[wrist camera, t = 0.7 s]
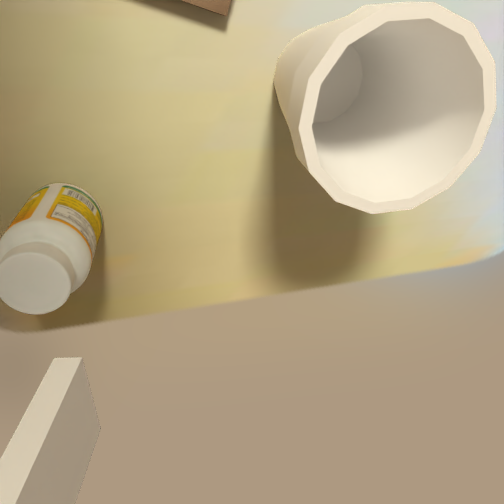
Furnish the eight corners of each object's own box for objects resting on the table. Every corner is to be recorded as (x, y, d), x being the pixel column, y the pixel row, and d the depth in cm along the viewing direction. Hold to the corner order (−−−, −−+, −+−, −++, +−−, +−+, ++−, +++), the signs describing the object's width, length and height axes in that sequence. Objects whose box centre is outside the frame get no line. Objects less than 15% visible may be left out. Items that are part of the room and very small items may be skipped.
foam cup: (308, -33, 30) (398, -52, 19) (409, 57, 34) (536, 86, 22) (225, 98, 33) (258, 151, 21) (326, 168, 36) (401, 244, 25)
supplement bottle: (99, 180, 34) (78, 239, 26) (107, 247, 36) (91, 321, 28) (17, 182, 33) (-31, 243, 25) (31, 251, 36) (-9, 328, 27)
